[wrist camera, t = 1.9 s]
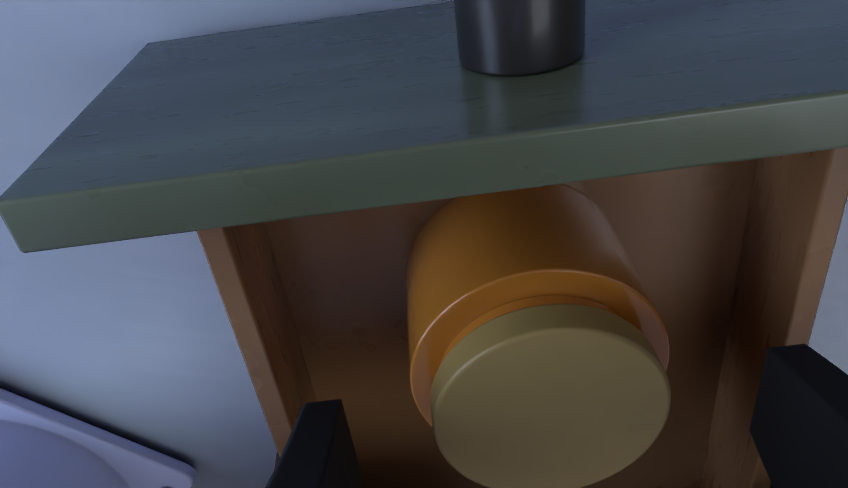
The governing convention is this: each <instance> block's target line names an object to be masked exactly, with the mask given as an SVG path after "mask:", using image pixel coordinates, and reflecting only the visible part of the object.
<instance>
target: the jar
mask: <svg viewBox="0 0 848 488" xmlns="http://www.w3.org/2000/svg"><path fill="white" fill-rule="evenodd" d="M405 278H406V302H407V326H408V350H409V374H410V386H411V391H412V395H413V398H414V401H415V403H416V405H417V407H418V409H419V411H420V413H421V414H422V416H423V417H424V418H425V420H426V421H427V422H428V423H429V425H430V426H431V427H432V428H433V434H434V438H435V442H436V444H437V446H438V448H439V450H440V452H441V453H442V455H443V456H444V457H445V459H446V460H447V462H448V463H449V464H450V465H451V466H452V467H453V468H454V469H455V470H457V471H458V472H459V473H461V474H462V475H463V476H465V477H467V478H468V479H470V480H472V481H474V482H476V483H478V484H481V485H483V486H486V487H489V488H582V487H585V486H588V485H591V484H594V483H597V482H599V481H601V480H604V479H606V478H608V477H610V476H612V475H614V474H616V473H618V472H620V471H621V470H623V469H624V468H626V467H627V466H629V465H630V464H632V463H633V462H634V461H636V460H637V459H638V458H639V457H641V456H642V455H643V454H644V453H645V452H646V451H647V450H648V449H649V448H650V447H651V445H652V444H653V443H654V442H655V440H656V439H657V438H658V436H659V435H660V433H661V431H662V430H663V428H664V426H665V423H666V421H667V418H668V415H669V410H670V404H671V390H670V384H669V380H668V377H667V375H666V371H667V366H668V361H669V339H668V333H667V330H666V327H665V324H664V322H663V319H662V317H661V316H660V314H659V312H658V310H657V308H656V306H655V304H654V302H653V301H652V299H651V297H650V295H649V293H648V291H647V289H646V287H645V285H644V284H643V282H642V280H641V278H640V276H639V274H638V272H637V270H636V268H635V267H634V265H633V263H632V261H631V259H630V257H629V255H628V253H627V251H626V250H625V248H624V246H623V244H622V242H621V240H620V238H619V236H618V234H617V233H616V231H615V229H614V227H613V225H612V224H611V222H610V220H609V218H608V217H607V216H606V214H605V213H604V212H603V211H602V210H601V208H600V207H598V206H597V205H596V204H595V203H594V202H593V201H592V200H590V199H589V198H587V197H586V196H584V195H583V194H581V193H580V192H578V191H575V190H573V189H571V188H569V187H567V186H563V185H560V184H557V185H549V186H541V187H533V188H526V189H518V190H510V191H502V192H495V193H487V194H479V195H471V196H463V197H457V198H455V199H453V200H451V201H450V202H449V203H447V204H446V205H445V206H443V207H442V208H441V209H439V210H438V211H437V212H436V213H435V214H434V215H433V216H432V217H431V218H430V219H429V220H428V222H427V223H426V224H425V225H424V227H423V228H422V229H421V230H420V232H419V234H418V235H417V237H416V239H415V241H414V242H413V245H412V247H411V250H410V252H409V256H408V260H407V264H406V276H405Z"/></svg>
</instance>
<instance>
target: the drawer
mask: <svg viewBox="0 0 848 488" xmlns="http://www.w3.org/2000/svg"><path fill="white" fill-rule="evenodd" d="M557 184H560V185H563V186H567V187H569V188H571V189H573V190H575V191H578V192H580V193H581V194H583V195H584V196H586V197H587V198H589V199H590V200H592V201H593V202H594V203H595V204H596V205H597V206H598V207H600V208H601V210H602V211H603V212H604V213H605V214H606V216H607V217H608V218H609V220H610V222H611V224H612V225H613V227H614V229H615V231H616V233H617V234H618V236H619V238H620V240H621V242H622V244H623V246H624V248H625V250H626V251H627V253H628V255H629V257H630V259H631V261H632V263H633V265H634V267H635V268H636V270H637V272H638V274H639V276H640V278H641V280H642V282H643V284H644V285H645V287H646V289H647V291H648V293H649V295H650V297H651V299H652V301H653V302H654V304H655V306H656V308H657V310H658V312H659V314H660V316H661V317H662V319H663V322H664V324H665V327H666V330H667V333H668V339H669V361H668V366H667V371H666V375H667V377H668V380H669V384H670V390H671V404H670V410H669V415H668V418H667V421H666V423H665V426H664V428H663V430H662V431H661V433H660V435H659V436H658V438H657V439H656V440H655V442H654V443H653V444H652V445H651V447H650V448H649V449H648V450H647V451H646V452H645V453H644V454H643V455H642V456H641V457H639V458H638V459H637V460H636V461H634V462H633V463H632V464H630V465H629V466H627V467H626V468H624V469H623V470H621V471H620V472H618V473H616V474H614V475H612V476H610V477H608V478H606V479H604V480H601V481H599V482H597V483H594V484H591V485H588V486H585V487H582V488H770V486H771V481H770V479H769V477H768V474H767V472H766V470H765V468H764V465H763V463H762V461H761V458H760V456H759V453H758V451H757V448H756V446H755V443H754V441H753V438H752V436H751V433H750V431H749V430H750V425H751V421H752V416H753V412H754V407H755V403H756V398H757V394H758V389H759V385H760V380H761V376H762V371H763V367H764V362H765V358H766V353H767V349H768V348H772V347H780V346H789V345H797V344H806V345H807V346H808V343H809V339H810V336H811V332H812V328H813V324H814V320H815V317H816V313H817V309H818V305H819V302H820V298H821V294H822V290H823V287H824V283H825V279H826V275H827V272H828V268H829V264H830V260H831V257H832V253H833V249H834V245H835V242H836V238H837V234H838V230H839V227H840V223H841V219H842V215H843V212H844V208H845V204H846V200H847V197H848V0H454V1H453V2H446V3H439V4H431V5H424V6H417V7H409V8H402V9H395V10H387V11H380V12H373V13H365V14H358V15H351V16H343V17H336V18H329V19H321V20H314V21H307V22H299V23H292V24H285V25H277V26H270V27H263V28H256V29H248V30H241V31H234V32H226V33H219V34H212V35H204V36H197V37H190V38H182V39H175V40H168V41H160V42H153V43H148V44H147V45H146V46H145V47H144V48H143V49H142V50H141V51H140V52H139V53H138V54H137V55H136V56H135V57H134V58H133V59H132V60H131V61H130V62H129V63H128V64H127V66H126V67H125V68H124V69H123V70H122V71H121V72H120V73H119V74H118V75H117V76H116V77H115V78H114V79H113V80H112V81H111V82H110V83H109V84H108V85H107V86H106V87H105V88H104V89H103V90H102V92H101V93H100V94H99V95H98V96H97V97H96V98H95V99H94V100H93V101H92V102H91V103H90V104H89V105H88V106H87V107H86V108H85V109H84V110H83V111H82V112H81V113H80V114H79V115H78V116H77V118H76V119H75V120H74V121H73V122H72V123H71V124H70V125H69V126H68V127H67V128H66V129H65V130H64V131H63V132H62V133H61V134H60V135H59V136H58V137H57V138H56V139H55V140H54V141H53V142H52V144H51V145H50V146H49V147H48V148H47V149H46V150H45V151H44V152H43V153H42V154H41V155H40V156H39V157H38V158H37V159H36V160H35V161H34V162H33V163H32V164H31V165H30V166H29V167H28V169H27V170H26V171H25V172H24V173H23V174H22V175H21V176H20V177H19V178H18V179H17V180H16V181H15V182H14V183H13V184H12V185H11V186H10V187H9V188H8V189H7V190H6V191H5V192H4V193H3V195H2V196H1V197H0V215H1V217H2V219H3V220H4V222H5V224H6V226H7V228H8V229H9V231H10V233H11V235H12V237H13V239H14V240H15V242H16V244H17V246H18V248H19V249H20V251H21V252H24V253H28V252H36V251H43V250H51V249H59V248H67V247H75V246H82V245H90V244H98V243H106V242H113V241H121V240H129V239H137V238H145V237H152V236H160V235H168V234H176V233H183V232H191V231H197V233H198V236H199V239H200V241H201V244H202V247H203V250H204V252H205V255H206V258H207V260H208V263H209V266H210V269H211V271H212V274H213V277H214V279H215V282H216V285H217V288H218V290H219V293H220V296H221V298H222V301H223V304H224V307H225V309H226V312H227V315H228V317H229V320H230V323H231V326H232V328H233V331H234V334H235V336H236V339H237V342H238V345H239V347H240V350H241V353H242V356H243V358H244V361H245V364H246V366H247V369H248V372H249V375H250V377H251V380H252V383H253V385H254V388H255V391H256V394H257V396H258V399H259V402H260V404H261V407H262V410H263V413H264V415H265V418H266V421H267V423H268V426H269V429H270V432H271V434H272V437H273V440H274V442H275V445H276V448H277V451H278V453H279V456H281V454H282V452H283V450H284V447H285V445H286V443H287V441H288V438H289V436H290V434H291V431H292V429H293V427H294V424H295V422H296V419H297V417H298V414H299V412H300V409H301V408H302V407H303V406H304V405H305V403H309V402H318V401H326V400H335V399H341V400H342V404H343V407H344V411H345V415H346V418H347V422H348V426H349V429H350V433H351V437H352V441H353V444H354V448H355V452H356V455H357V459H358V463H359V466H360V470H361V474H362V488H489V487H486V486H483V485H481V484H478V483H476V482H474V481H472V480H470V479H468V478H467V477H465V476H463V475H462V474H461V473H459V472H458V471H457V470H455V469H454V468H453V467H452V466H451V465H450V464H449V463H448V462H447V460H446V459H445V457H444V456H443V455H442V453H441V452H440V450H439V448H438V446H437V444H436V442H435V438H434V434H433V428H432V427H431V426H430V425H429V423H428V422H427V421H426V420H425V418H424V417H423V416H422V414H421V413H420V411H419V409H418V407H417V405H416V403H415V401H414V398H413V395H412V391H411V386H410V374H409V350H408V326H407V302H406V278H405V276H406V264H407V260H408V256H409V252H410V250H411V247H412V245H413V242H414V241H415V239H416V237H417V235H418V234H419V232H420V230H421V229H422V228H423V227H424V225H425V224H426V223H427V222H428V220H429V219H430V218H431V217H432V216H433V215H434V214H435V213H436V212H437V211H438V210H439V209H441V208H442V207H443V206H445V205H446V204H447V203H449V202H450V201H451V200H453V199H455V198H457V197H463V196H471V195H479V194H487V193H495V192H502V191H510V190H518V189H526V188H533V187H541V186H549V185H557Z"/></svg>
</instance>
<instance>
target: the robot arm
mask: <svg viewBox="0 0 848 488" xmlns="http://www.w3.org/2000/svg"><path fill="white" fill-rule="evenodd" d="M749 431H750V433H751V436H752V438H753V441H754V443H755V446H756V448H757V451H758V453H759V456H760V458H761V461H762V463H763V465H764V468H765V470H766V472H767V474H768V477H769V479H770V481H771V483H772V486H773V488H848V375H847V374H846V373H844V372H843V371H842V370H840V369H839V368H838V367H836V366H835V365H834V364H832V363H831V362H830V361H828V360H827V359H825V358H824V357H823V356H821V355H820V354H819V353H817V352H816V351H814V350H813V349H812V348H810V347H809V346H807V345H806V344H797V345H789V346H780V347H772V348H768V349H767V353H766V358H765V362H764V367H763V371H762V376H761V380H760V385H759V389H758V394H757V398H756V403H755V407H754V412H753V416H752V421H751V425H750V430H749ZM195 477H196V472H195V470H194V469H193V468H192V467H191V466H190V465H188V464H186V463H184V462H182V461H179V460H177V459H174V458H172V457H169V456H167V455H164V454H162V453H159V452H157V451H154V450H152V449H149V448H147V447H144V446H142V445H140V444H137V443H135V442H132V441H130V440H127V439H125V438H122V437H120V436H117V435H115V434H112V433H110V432H107V431H105V430H102V429H100V428H98V427H95V426H93V425H90V424H88V423H85V422H83V421H80V420H78V419H75V418H73V417H70V416H68V415H65V414H63V413H60V412H58V411H56V410H53V409H51V408H48V407H46V406H43V405H41V404H38V403H36V402H33V401H31V400H28V399H26V398H23V397H21V396H18V395H16V394H14V393H11V392H9V391H6V390H4V389H1V388H0V488H192V486H193V484H194V481H195ZM265 488H362V474H361V470H360V466H359V463H358V459H357V455H356V452H355V448H354V444H353V441H352V437H351V433H350V429H349V426H348V422H347V418H346V415H345V411H344V407H343V404H342V400H341V399H335V400H326V401H318V402H309V403H305V405H304V406H303V407H302V408H301V409H300V412H299V414H298V417H297V419H296V422H295V424H294V427H293V429H292V431H291V434H290V436H289V438H288V441H287V443H286V445H285V447H284V450H283V452H282V454H281V456H280V458H279V460H278V462H277V465H276V467H275V469H274V471H273V473H272V475H271V477H270V479H269V481H268V483H267V485H266V487H265Z"/></svg>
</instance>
